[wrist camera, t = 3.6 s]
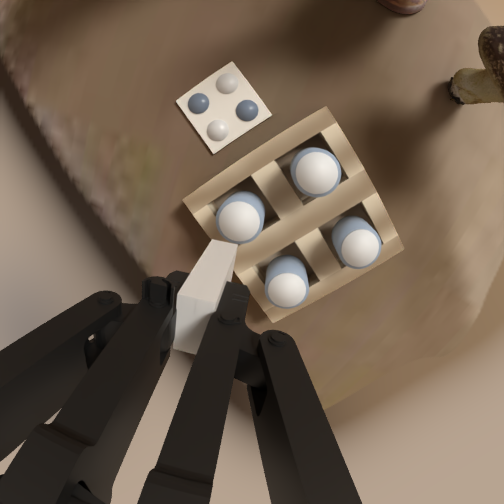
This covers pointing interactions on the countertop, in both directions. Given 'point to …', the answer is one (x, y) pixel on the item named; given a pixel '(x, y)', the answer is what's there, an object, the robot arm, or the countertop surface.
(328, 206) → the wooden compartment tray
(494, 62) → the mushroom
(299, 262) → the button
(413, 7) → the mortar and pestle
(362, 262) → the button
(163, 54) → the countertop surface
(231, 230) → the button
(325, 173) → the button
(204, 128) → the card
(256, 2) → the countertop surface
